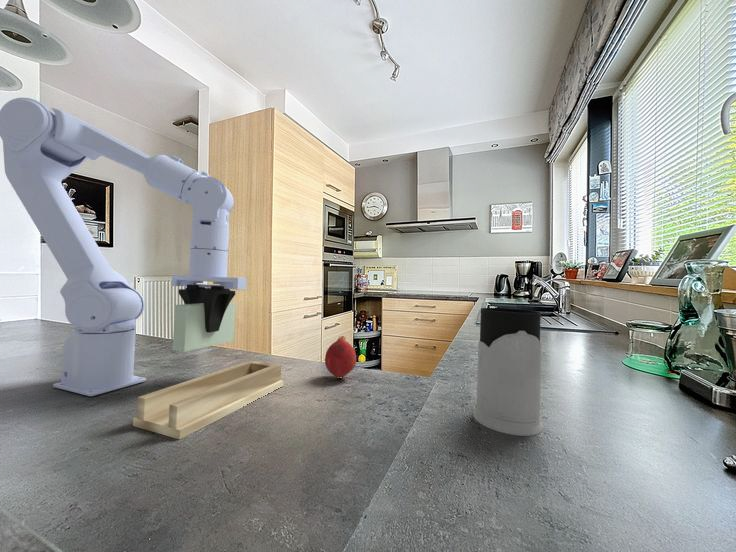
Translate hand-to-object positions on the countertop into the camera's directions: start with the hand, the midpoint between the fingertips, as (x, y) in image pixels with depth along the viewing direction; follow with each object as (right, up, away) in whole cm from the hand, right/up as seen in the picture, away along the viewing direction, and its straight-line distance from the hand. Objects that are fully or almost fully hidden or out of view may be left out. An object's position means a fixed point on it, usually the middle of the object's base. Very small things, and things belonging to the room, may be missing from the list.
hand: (205, 330), depth 52 cm
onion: (+22, -10, +5) cm, 25 cm away
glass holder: (+47, -11, -7) cm, 48 cm away
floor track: (+6, -9, -8) cm, 14 cm away
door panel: (0, -3, 0) cm, 3 cm away
